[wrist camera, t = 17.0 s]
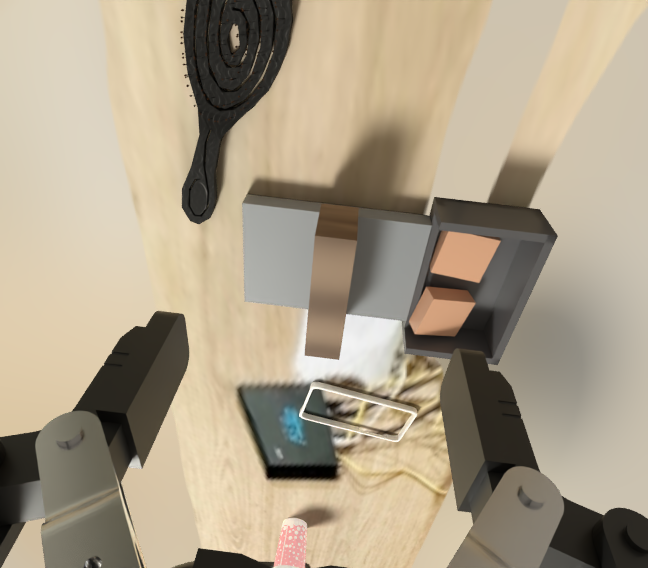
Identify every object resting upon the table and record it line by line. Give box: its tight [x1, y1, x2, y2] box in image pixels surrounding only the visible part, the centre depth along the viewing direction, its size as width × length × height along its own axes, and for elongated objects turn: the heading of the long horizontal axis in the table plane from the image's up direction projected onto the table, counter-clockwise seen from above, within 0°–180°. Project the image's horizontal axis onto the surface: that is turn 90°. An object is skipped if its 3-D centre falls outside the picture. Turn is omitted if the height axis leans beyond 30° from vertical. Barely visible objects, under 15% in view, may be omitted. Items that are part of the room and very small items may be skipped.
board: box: [242, 194, 432, 321], centre depth 46 cm, size 12×18×2 cm, turn 85°
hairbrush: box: [180, 0, 293, 224], centre depth 38 cm, size 8×4×25 cm
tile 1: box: [429, 231, 501, 283], centre depth 43 cm, size 5×5×2 cm
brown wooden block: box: [305, 203, 359, 360], centre depth 43 cm, size 14×4×6 cm, turn 175°
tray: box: [402, 197, 557, 365], centre depth 45 cm, size 16×10×5 cm, turn 175°
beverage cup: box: [273, 518, 307, 568], centre depth 77 cm, size 6×6×14 cm
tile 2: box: [409, 287, 476, 336], centre depth 47 cm, size 5×5×2 cm
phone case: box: [299, 382, 417, 442], centre depth 62 cm, size 7×1×15 cm
